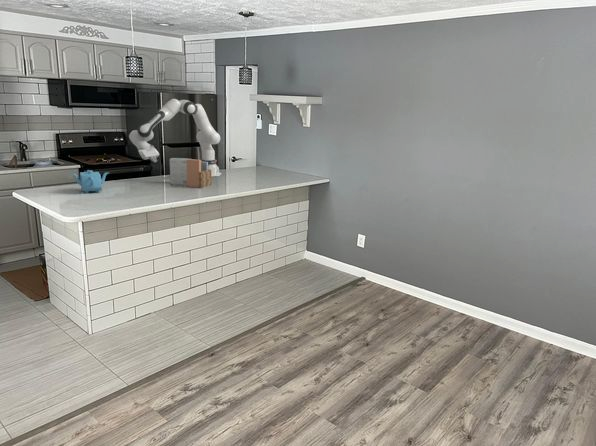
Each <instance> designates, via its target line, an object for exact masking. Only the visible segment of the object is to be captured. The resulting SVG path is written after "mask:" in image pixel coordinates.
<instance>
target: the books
mask: <svg viewBox="0 0 596 446" xmlns="http://www.w3.org/2000/svg"><path fill="white" fill-rule="evenodd" d="M186 159H187V185H186V187H187V188H197V189H198V188H199V172H202V171H205V170H208V162H202V159H194V158H193V159H192V158H186ZM199 189H200V188H199Z"/></svg>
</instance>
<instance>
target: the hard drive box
mask: <svg viewBox="0 0 596 446" xmlns="http://www.w3.org/2000/svg"><path fill="white" fill-rule="evenodd" d="M187 159H188V158H184V157H183V158H181V157H171V158H169V181H170V183H169V184H170V185H182V186H184V185H185V186H187Z"/></svg>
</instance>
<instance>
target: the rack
mask: <svg viewBox="0 0 596 446" xmlns="http://www.w3.org/2000/svg"><path fill="white" fill-rule="evenodd" d="M212 182H213V181H212V177H211V169H209V170H205V171H202V172H199V189H203V188H206V187H209V186H211V185H212Z"/></svg>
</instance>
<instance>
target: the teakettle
mask: <svg viewBox="0 0 596 446" xmlns="http://www.w3.org/2000/svg"><path fill="white" fill-rule="evenodd" d="M108 174H109V172H104V173H103V174H101V173H100V172H99V171H93V170H92V169H91V170H90V169H87V170H86V171H85V172H83V171H82V172H81V171H80V172H79V176H78V175H77V174H76V173H70V175H72V176H73V177H74V179H75V181H76V183H77V184H78V185H79V186H80V189H81V190H82V192H83V194H89V192H95V193H97V194H98V193H101V192H100V191H103V190H102V185H103V184H104V183H105V180H106V176H107V175H108ZM101 175H102V176H101ZM79 177H80V179H79Z"/></svg>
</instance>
